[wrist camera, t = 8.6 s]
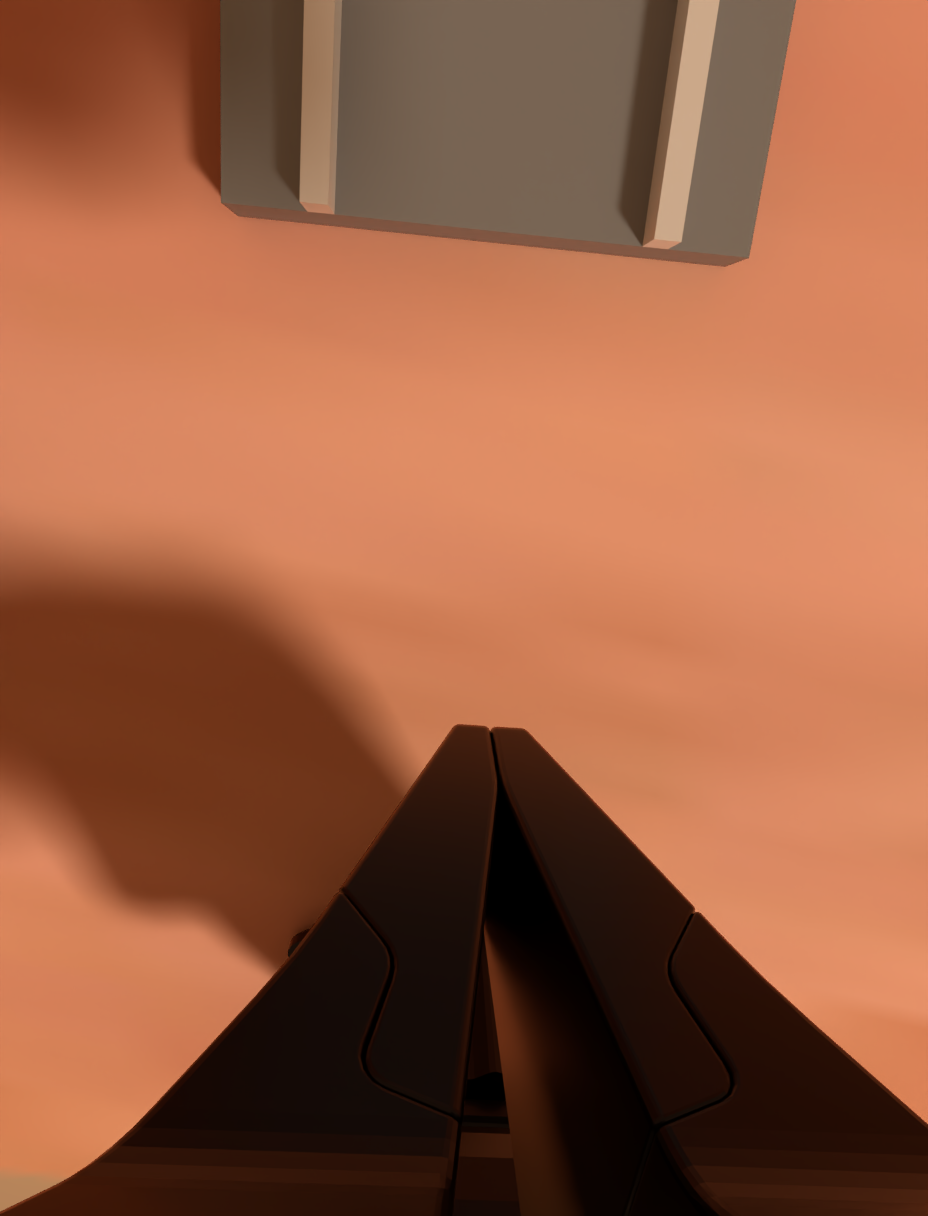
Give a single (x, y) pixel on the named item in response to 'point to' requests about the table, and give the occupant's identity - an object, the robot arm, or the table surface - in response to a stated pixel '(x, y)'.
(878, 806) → the table surface
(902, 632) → the table surface
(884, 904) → the table surface
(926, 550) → the table surface
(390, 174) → the grey railed base plate
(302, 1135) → the robot arm
